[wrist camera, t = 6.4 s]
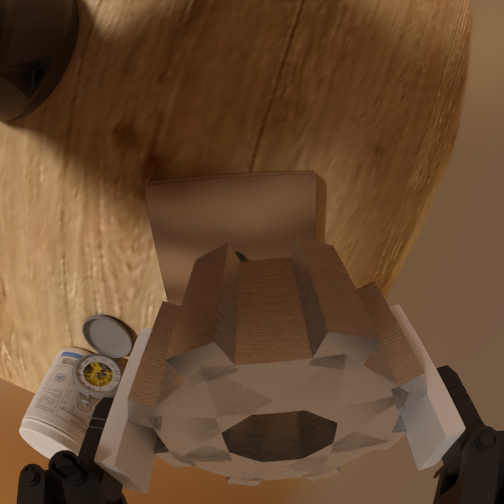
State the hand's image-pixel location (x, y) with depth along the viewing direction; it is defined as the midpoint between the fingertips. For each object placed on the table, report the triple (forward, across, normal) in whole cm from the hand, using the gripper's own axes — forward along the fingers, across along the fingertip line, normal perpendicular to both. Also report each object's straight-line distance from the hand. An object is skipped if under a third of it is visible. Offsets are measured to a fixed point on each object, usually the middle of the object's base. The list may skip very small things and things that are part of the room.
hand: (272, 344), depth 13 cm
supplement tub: (+16, -26, -19) cm, 37 cm away
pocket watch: (+16, -20, -14) cm, 29 cm away
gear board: (+16, -3, -8) cm, 18 cm away
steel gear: (0, 0, 0) cm, 0 cm away
